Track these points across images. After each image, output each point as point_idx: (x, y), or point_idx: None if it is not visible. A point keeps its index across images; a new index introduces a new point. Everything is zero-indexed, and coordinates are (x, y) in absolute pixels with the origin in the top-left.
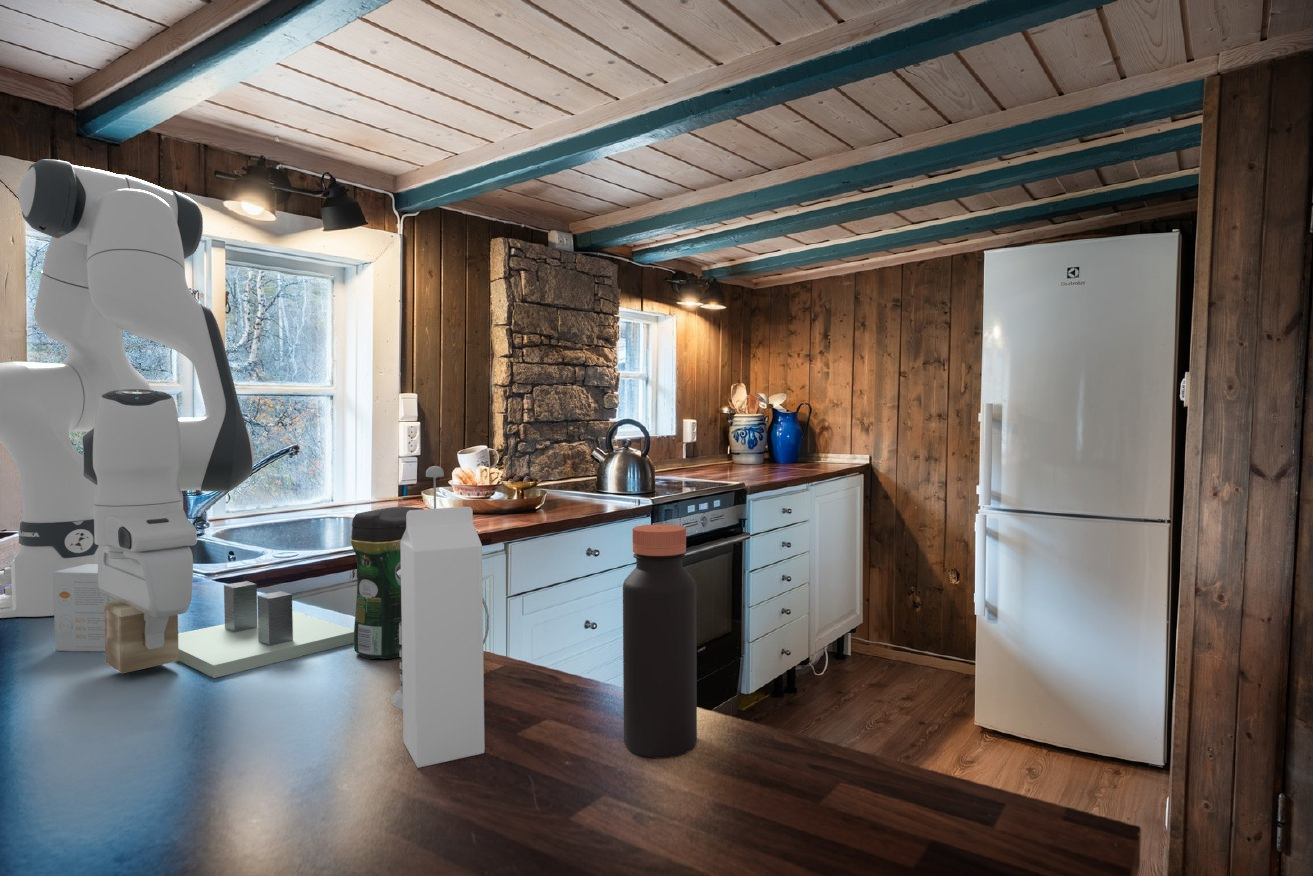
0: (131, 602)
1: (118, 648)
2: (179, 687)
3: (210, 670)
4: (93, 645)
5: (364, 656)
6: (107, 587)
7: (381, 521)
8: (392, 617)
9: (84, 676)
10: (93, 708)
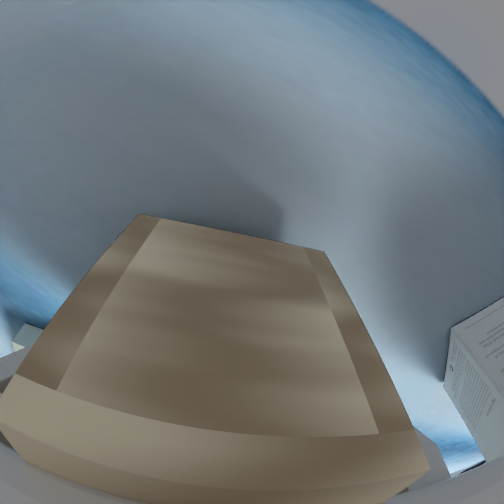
0: (17, 492)
1: (151, 261)
2: (12, 258)
3: (33, 337)
4: (490, 317)
5: None
6: (500, 501)
7: None
8: None
9: (349, 189)
10: (21, 69)
